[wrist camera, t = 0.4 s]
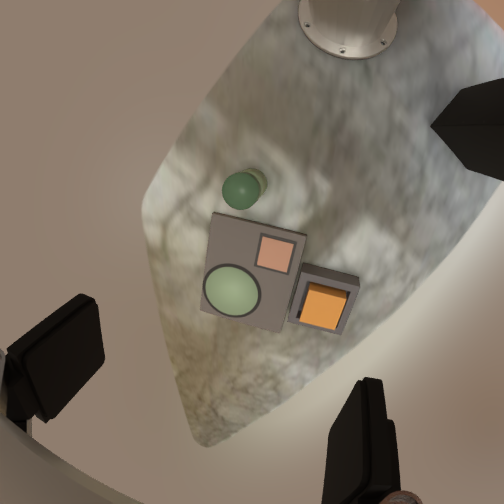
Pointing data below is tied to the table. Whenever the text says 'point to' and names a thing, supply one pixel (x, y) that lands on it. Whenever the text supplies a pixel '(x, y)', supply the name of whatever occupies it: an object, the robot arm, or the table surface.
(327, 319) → the button
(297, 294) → the button housing
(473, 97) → the tissue box
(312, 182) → the table surface
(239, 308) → the colouring board
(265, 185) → the green capped cylinder
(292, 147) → the table surface
